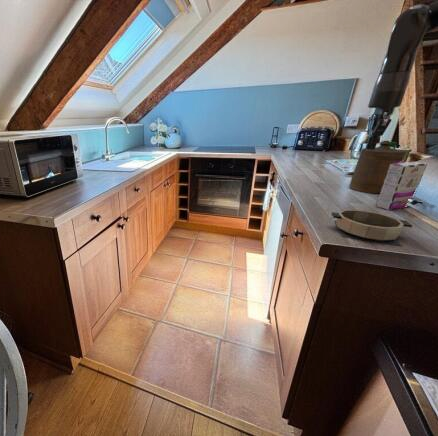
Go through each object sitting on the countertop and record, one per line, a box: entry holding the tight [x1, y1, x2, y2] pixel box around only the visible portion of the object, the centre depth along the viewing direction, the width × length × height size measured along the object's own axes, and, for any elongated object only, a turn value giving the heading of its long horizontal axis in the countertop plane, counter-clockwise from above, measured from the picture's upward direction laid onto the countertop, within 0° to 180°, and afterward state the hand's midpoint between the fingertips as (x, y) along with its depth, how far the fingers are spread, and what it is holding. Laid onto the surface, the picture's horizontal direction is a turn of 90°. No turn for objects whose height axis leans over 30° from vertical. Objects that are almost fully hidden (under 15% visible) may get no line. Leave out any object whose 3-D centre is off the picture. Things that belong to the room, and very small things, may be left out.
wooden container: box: [349, 140, 407, 195], centre depth 110 cm, size 15×15×22 cm
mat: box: [334, 220, 402, 247], centre depth 73 cm, size 13×13×1 cm
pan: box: [331, 209, 413, 241], centre depth 72 cm, size 18×14×5 cm
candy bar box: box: [375, 161, 428, 211], centre depth 89 cm, size 11×5×16 cm, turn 105°
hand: (369, 149), depth 80 cm, fingers closed
